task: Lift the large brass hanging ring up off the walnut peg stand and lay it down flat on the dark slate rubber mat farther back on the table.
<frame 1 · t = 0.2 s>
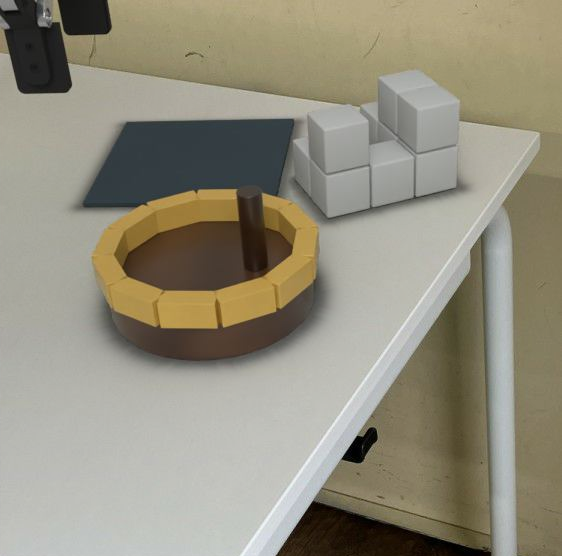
hand: (68, 60, 63), 19 cm above the table, tool pointing down, fingers open, 9 cm apart
mat: (194, 162, 94), on the table
peg stand: (213, 299, 76), on the table
puzzle cube: (365, 176, 90), on the table
ring: (208, 265, 74), point 3 cm above the table, touching peg stand
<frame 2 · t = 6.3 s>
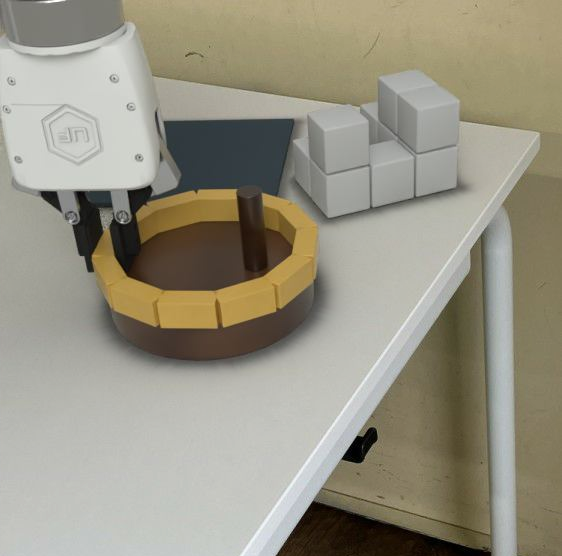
hand: (112, 261, 74), 3 cm above the table, tool pointing down, fingers closed on ring, 1 cm apart
ring: (208, 265, 74), point 3 cm above the table, touching gripper, peg stand
everything else where it was.
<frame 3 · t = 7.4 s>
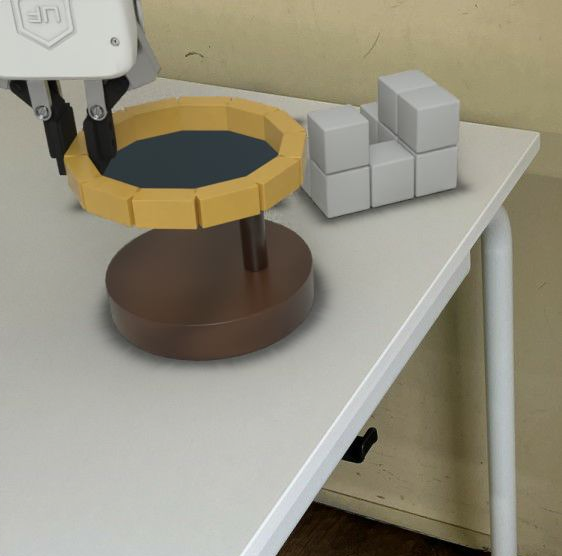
hand: (86, 165, 70), 11 cm above the table, tool pointing down, fingers closed on ring
ring: (189, 170, 69), point 11 cm above the table, touching gripper
everything else where it was.
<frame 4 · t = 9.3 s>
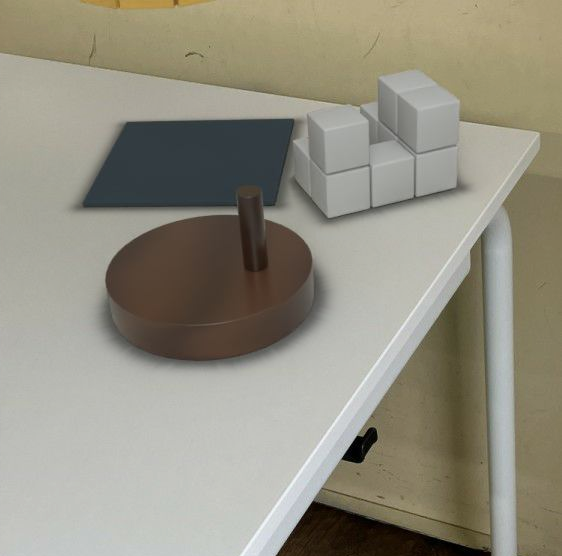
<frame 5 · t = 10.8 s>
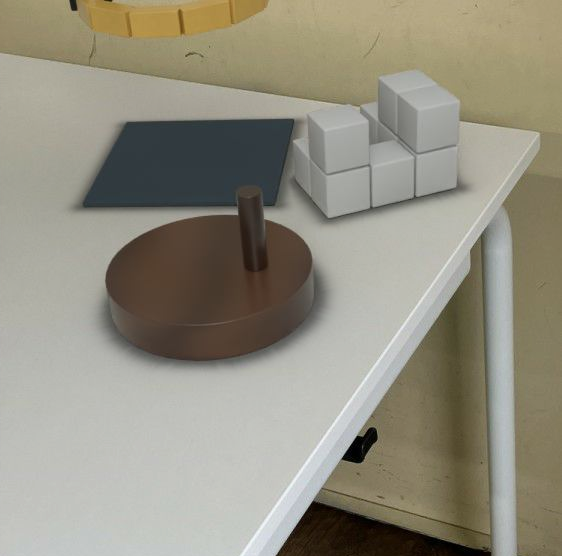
hand: (92, 3, 86), 15 cm above the table, tool pointing down, fingers closed on ring
ring: (175, 4, 85), point 15 cm above the table, touching gripper
everything else where it was.
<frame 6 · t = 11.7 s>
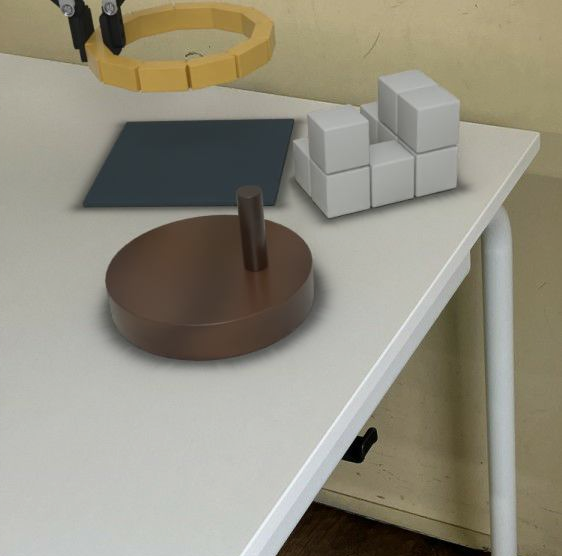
hand: (102, 54, 89), 10 cm above the table, tool pointing down, fingers closed on ring
ring: (182, 55, 88), point 10 cm above the table, touching gripper
everything else where it was.
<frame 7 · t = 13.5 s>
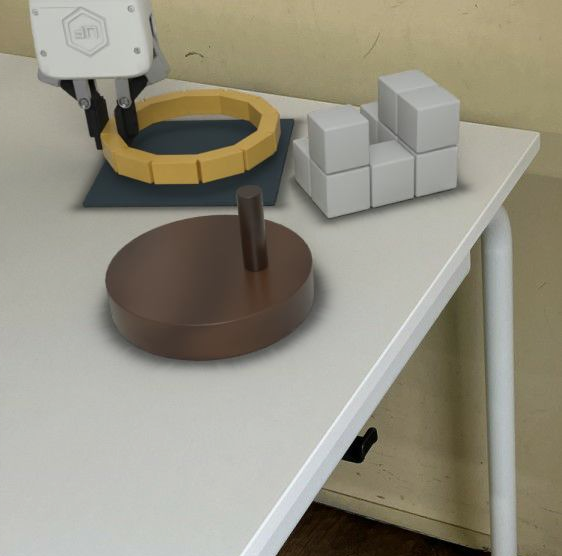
hand: (116, 142, 94), 2 cm above the table, tool pointing down, fingers closed on ring, 1 cm apart
ring: (192, 143, 93), point 2 cm above the table, touching gripper
everything else where it was.
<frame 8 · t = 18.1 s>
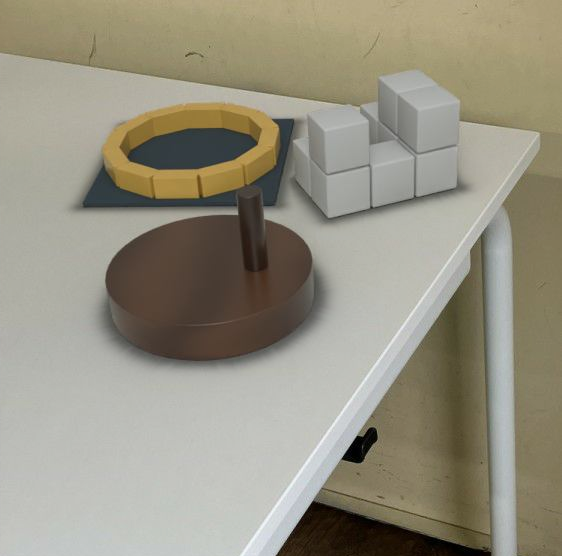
ring: (193, 157, 94), resting on mat
everything else where it was.
at the end: ring touching mat; ring inside the target area on the mat (0.1 cm from its centre), point 0.4 cm above the mat's base; ring tilted 0° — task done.
